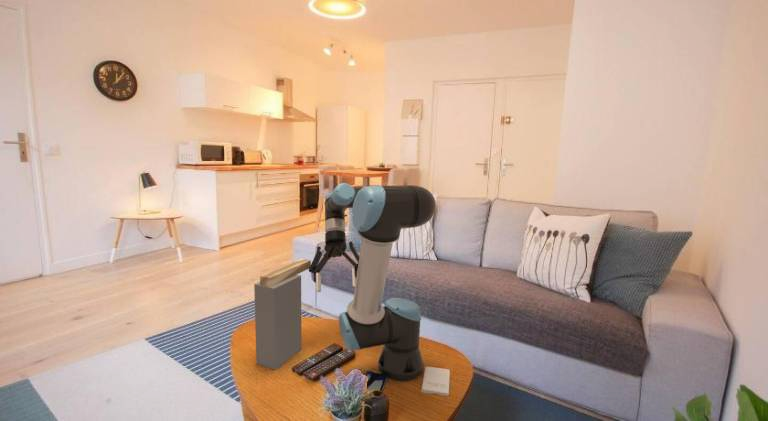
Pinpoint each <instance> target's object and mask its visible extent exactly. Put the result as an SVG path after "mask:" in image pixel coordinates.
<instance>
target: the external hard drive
mask: <svg viewBox="0 0 768 421" xmlns="http://www.w3.org/2000/svg"><path fill="white" fill-rule="evenodd" d="M423 372H424V373H423V379H422V386H421V393H425V394H433V395H435V394H436V395H438V396H446V397H449V395H450V378H451V376H450V374H451V370H450V369H448V368H440V367H434V366H433V367H432V366H429V365H428V366H424V371H423Z"/></svg>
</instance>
